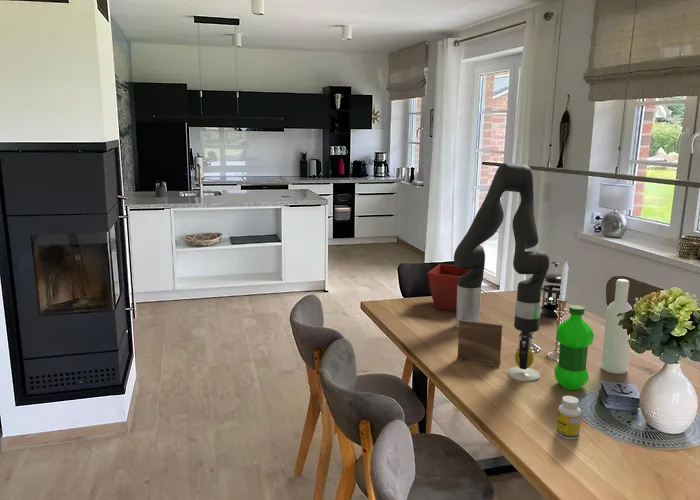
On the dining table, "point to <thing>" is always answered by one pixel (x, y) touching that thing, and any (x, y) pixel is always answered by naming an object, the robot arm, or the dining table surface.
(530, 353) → the lemon
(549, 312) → the french press
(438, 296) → the plant pot
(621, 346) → the bottle
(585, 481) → the dining table surface
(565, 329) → the plastic bottle
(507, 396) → the dining table surface
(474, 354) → the walnut screen
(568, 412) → the supplement bottle
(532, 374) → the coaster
